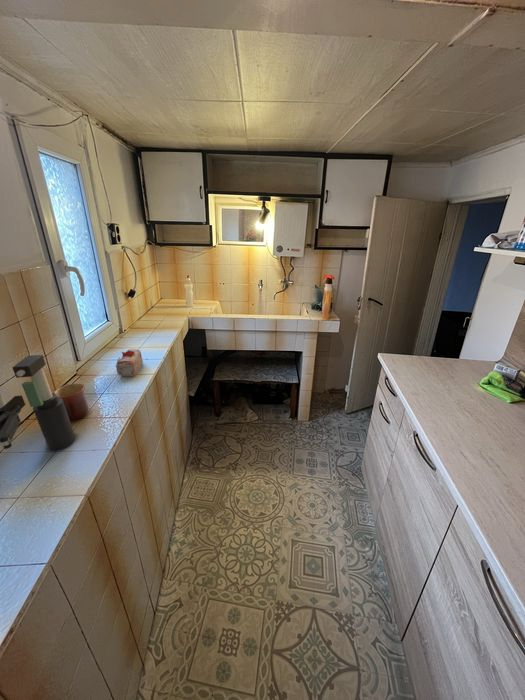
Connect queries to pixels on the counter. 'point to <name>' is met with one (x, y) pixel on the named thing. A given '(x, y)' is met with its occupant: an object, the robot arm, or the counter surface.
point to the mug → (73, 400)
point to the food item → (129, 363)
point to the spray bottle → (47, 405)
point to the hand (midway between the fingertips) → (20, 400)
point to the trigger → (32, 393)
